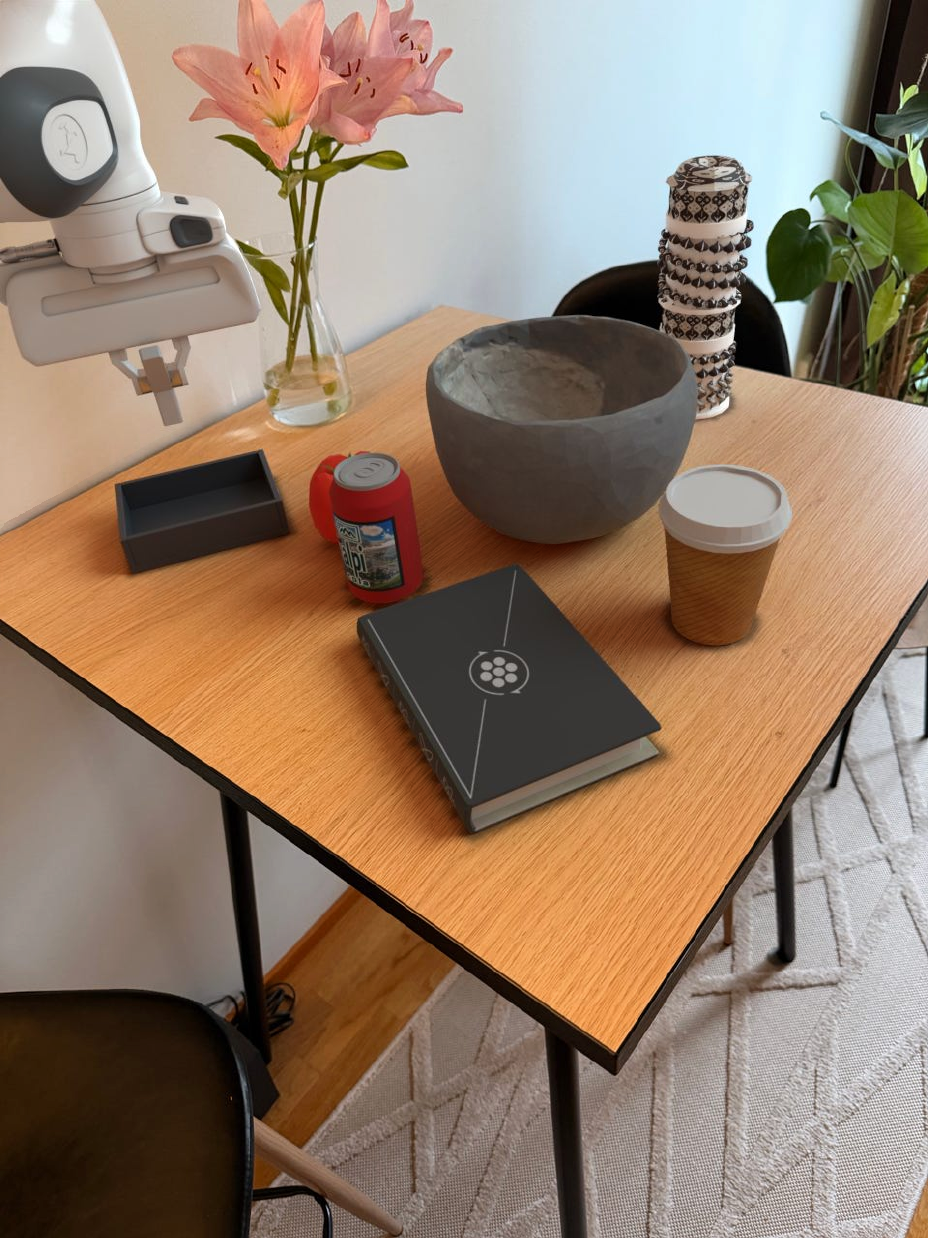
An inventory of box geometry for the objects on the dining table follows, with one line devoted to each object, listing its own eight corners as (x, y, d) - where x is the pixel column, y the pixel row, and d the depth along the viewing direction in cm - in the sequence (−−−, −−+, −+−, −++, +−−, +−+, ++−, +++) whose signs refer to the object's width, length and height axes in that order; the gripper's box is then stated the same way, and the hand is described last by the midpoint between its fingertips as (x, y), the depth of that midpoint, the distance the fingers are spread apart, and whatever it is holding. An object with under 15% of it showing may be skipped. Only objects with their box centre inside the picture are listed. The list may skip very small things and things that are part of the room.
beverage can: (333, 595, 80) (307, 478, 73) (381, 556, 84) (361, 441, 77) (393, 619, 77) (372, 499, 70) (439, 576, 81) (424, 459, 74)
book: (359, 645, 75) (353, 618, 73) (519, 589, 79) (518, 562, 77) (467, 838, 59) (463, 808, 57) (660, 755, 63) (663, 726, 61)
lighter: (160, 409, 86) (134, 326, 81) (179, 405, 87) (153, 322, 82) (166, 440, 81) (138, 353, 76) (186, 435, 81) (159, 349, 76)
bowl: (495, 430, 101) (486, 297, 92) (715, 463, 92) (730, 318, 83) (390, 553, 85) (366, 405, 75) (645, 607, 76) (655, 448, 66)
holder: (132, 574, 86) (119, 541, 83) (126, 515, 94) (114, 483, 92) (290, 533, 89) (282, 500, 86) (270, 479, 97) (262, 448, 95)
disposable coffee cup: (798, 627, 72) (824, 499, 64) (708, 677, 69) (724, 547, 61) (713, 571, 79) (727, 448, 71) (627, 613, 75) (632, 489, 68)
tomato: (317, 514, 91) (302, 447, 86) (405, 503, 91) (395, 436, 86) (314, 568, 84) (298, 499, 79) (410, 556, 84) (400, 486, 79)
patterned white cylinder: (740, 419, 99) (770, 170, 83) (653, 423, 100) (667, 178, 84) (726, 381, 106) (752, 146, 90) (646, 386, 107) (657, 153, 91)
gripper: (-26, 264, 69) (43, 429, 77) (241, 215, 73) (278, 377, 82) (-21, 241, 73) (44, 399, 82) (231, 197, 77) (266, 351, 86)
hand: (163, 387), depth 82 cm, fingers closed on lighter, 2 cm apart
